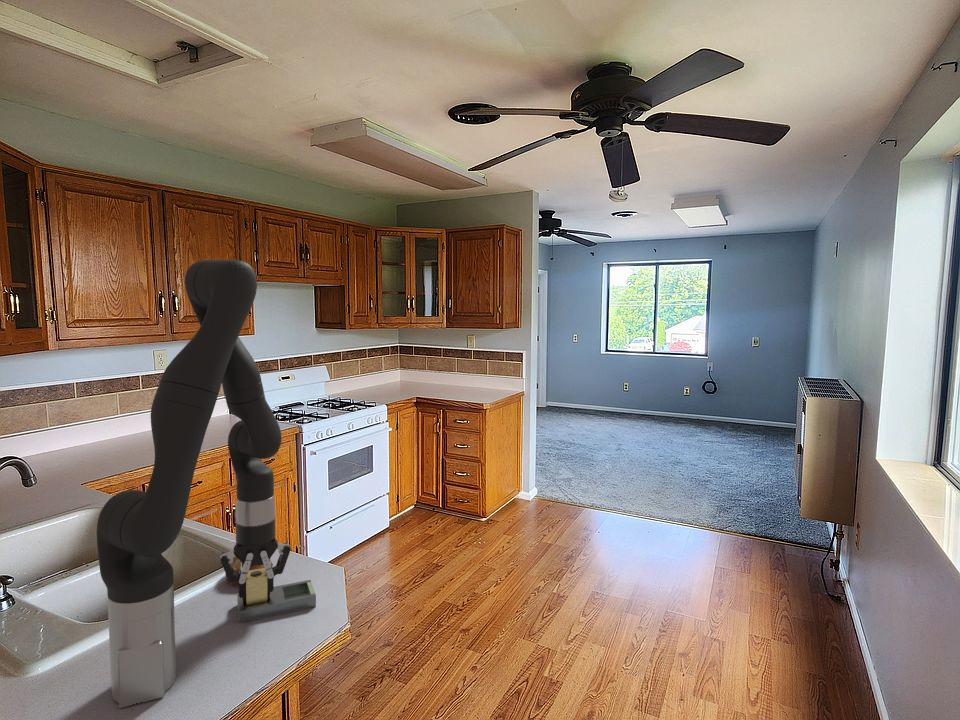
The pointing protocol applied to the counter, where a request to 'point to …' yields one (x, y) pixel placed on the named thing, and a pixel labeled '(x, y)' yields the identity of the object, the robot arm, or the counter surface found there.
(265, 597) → the tall beige wooden block
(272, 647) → the counter surface
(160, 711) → the counter surface
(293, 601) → the grey block holder
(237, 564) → the bread roll
